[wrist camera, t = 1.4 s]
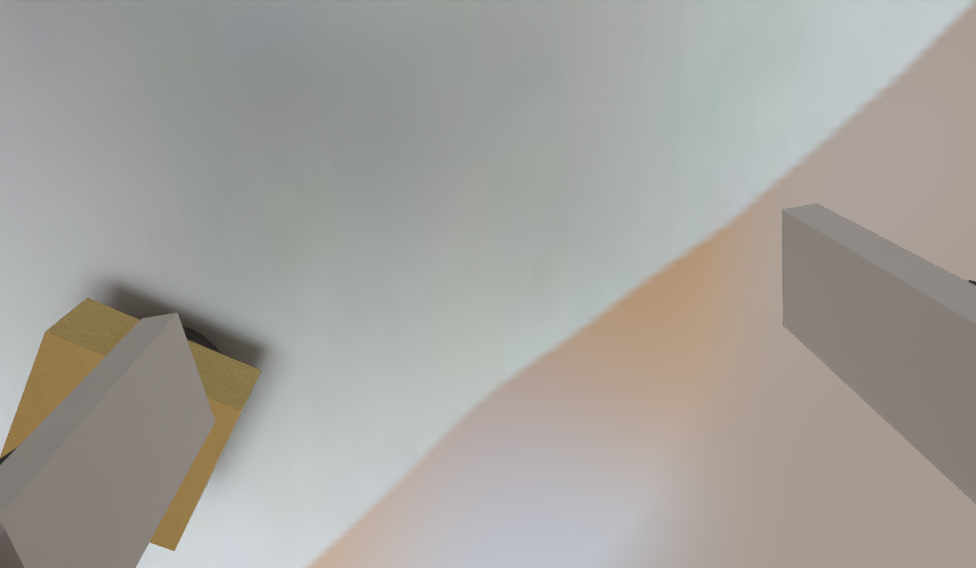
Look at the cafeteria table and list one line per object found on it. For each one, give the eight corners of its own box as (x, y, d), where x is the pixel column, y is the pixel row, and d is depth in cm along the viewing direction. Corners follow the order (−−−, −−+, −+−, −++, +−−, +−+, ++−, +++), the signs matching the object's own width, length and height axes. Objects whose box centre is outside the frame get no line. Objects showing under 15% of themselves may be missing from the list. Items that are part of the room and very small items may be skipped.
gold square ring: (34, 439, 38) (-11, 486, 34) (87, 297, 35) (45, 331, 31) (199, 500, 40) (174, 551, 36) (261, 370, 37) (241, 410, 33)
